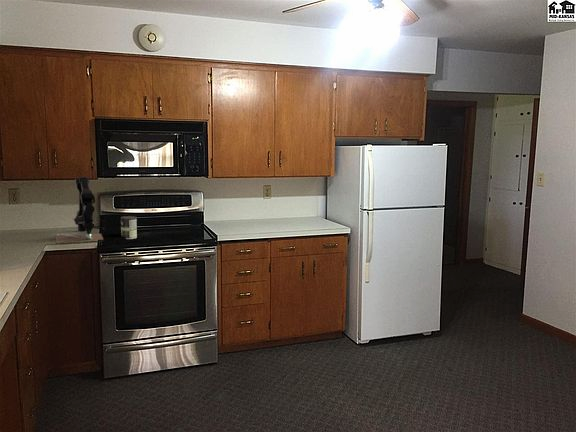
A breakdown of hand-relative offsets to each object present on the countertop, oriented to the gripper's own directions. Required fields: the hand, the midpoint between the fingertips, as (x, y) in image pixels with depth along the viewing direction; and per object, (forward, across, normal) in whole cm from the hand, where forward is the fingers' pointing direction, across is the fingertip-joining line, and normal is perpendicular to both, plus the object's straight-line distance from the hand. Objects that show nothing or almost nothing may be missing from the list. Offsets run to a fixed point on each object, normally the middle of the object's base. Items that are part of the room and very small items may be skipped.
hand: (88, 235), depth 322 cm
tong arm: (+2, -3, -6) cm, 7 cm away
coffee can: (+4, -3, +26) cm, 26 cm away
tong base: (+2, -12, -8) cm, 15 cm away
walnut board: (+4, -5, -6) cm, 8 cm away
